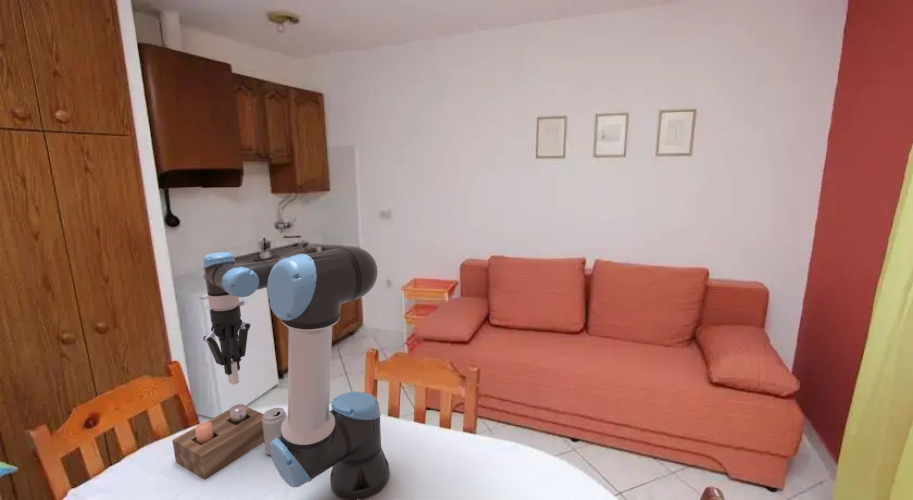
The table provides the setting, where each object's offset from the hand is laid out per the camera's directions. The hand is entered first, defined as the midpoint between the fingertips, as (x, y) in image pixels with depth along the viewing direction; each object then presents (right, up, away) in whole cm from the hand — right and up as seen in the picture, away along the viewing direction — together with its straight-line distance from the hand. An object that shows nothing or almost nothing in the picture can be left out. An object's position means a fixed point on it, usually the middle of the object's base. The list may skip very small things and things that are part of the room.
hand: (233, 382), depth 120 cm
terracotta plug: (-5, -16, -6) cm, 17 cm away
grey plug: (0, -14, +3) cm, 14 cm away
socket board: (-2, -19, -1) cm, 19 cm away
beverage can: (+14, -20, -1) cm, 24 cm away
